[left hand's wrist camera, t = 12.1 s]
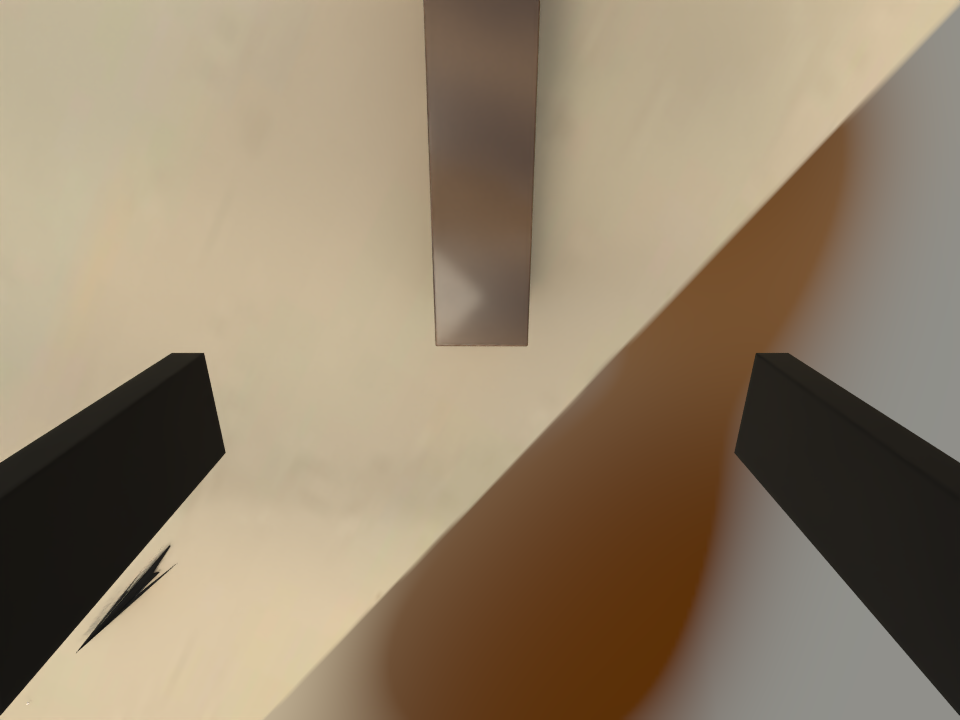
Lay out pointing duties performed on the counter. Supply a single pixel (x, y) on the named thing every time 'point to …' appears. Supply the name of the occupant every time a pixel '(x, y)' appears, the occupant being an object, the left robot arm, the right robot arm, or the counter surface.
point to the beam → (481, 166)
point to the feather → (128, 598)
